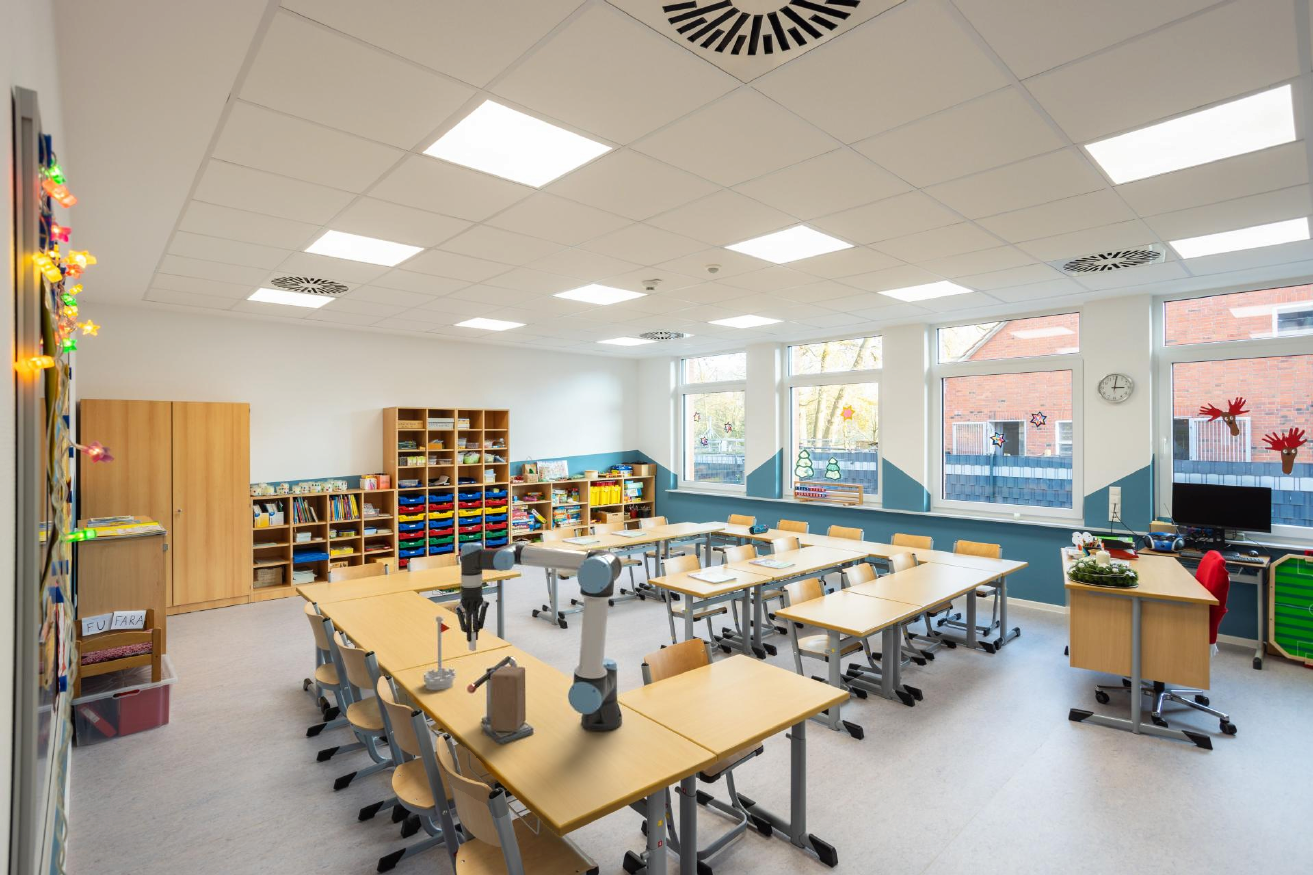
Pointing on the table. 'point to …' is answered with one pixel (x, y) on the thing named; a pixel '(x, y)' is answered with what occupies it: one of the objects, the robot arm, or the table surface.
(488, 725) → the press
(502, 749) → the table surface
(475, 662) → the table surface
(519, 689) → the wooden block
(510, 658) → the lever
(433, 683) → the flag stand
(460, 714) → the table surface
